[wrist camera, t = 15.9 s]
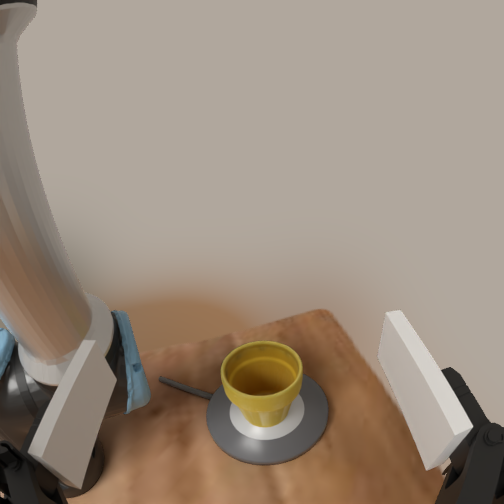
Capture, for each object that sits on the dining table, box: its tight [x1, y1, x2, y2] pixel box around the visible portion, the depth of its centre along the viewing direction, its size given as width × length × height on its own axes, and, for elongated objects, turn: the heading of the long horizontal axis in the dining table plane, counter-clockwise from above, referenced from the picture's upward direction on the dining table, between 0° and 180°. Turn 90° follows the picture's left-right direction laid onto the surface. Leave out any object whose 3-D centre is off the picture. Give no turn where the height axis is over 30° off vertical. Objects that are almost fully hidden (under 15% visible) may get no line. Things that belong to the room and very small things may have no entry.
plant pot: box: [220, 341, 303, 427], centre depth 38 cm, size 10×10×10 cm
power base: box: [159, 374, 328, 465], centre depth 43 cm, size 30×18×2 cm, turn 67°
